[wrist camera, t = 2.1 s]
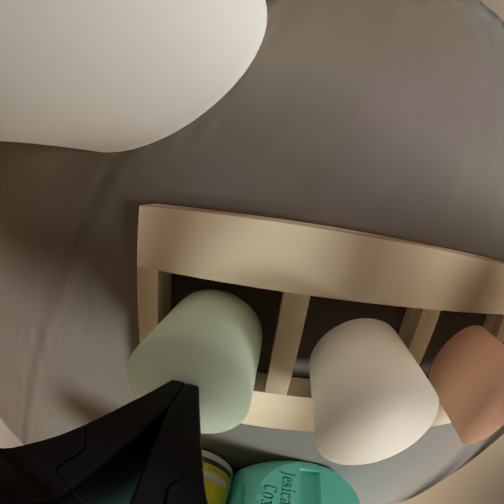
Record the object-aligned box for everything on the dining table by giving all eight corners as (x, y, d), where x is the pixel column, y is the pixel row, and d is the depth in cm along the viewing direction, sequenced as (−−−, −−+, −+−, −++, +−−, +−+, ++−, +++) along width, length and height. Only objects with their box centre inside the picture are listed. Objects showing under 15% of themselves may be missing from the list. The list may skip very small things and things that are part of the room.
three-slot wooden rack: (511, 263, 10) (527, 270, 8) (451, 407, 12) (459, 421, 10) (156, 203, 11) (139, 205, 10) (156, 383, 14) (146, 398, 12)
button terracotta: (499, 325, 9) (543, 362, 5) (469, 389, 10) (500, 434, 6) (448, 324, 9) (496, 372, 5) (416, 395, 10) (444, 452, 6)
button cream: (413, 321, 9) (459, 377, 5) (382, 396, 10) (404, 459, 6) (321, 312, 10) (338, 379, 6) (299, 392, 11) (300, 464, 7)
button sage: (269, 298, 11) (259, 354, 7) (255, 377, 11) (242, 443, 8) (172, 281, 11) (121, 322, 7) (172, 359, 12) (135, 414, 8)
